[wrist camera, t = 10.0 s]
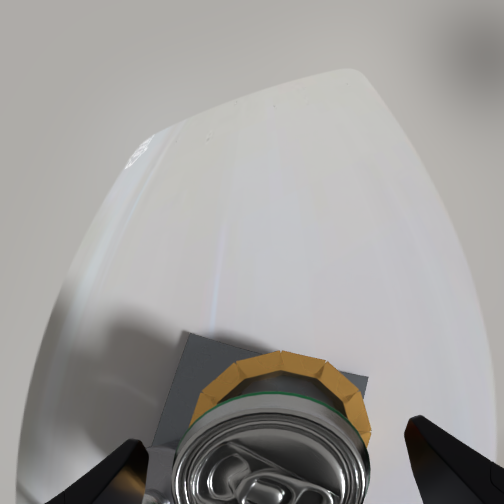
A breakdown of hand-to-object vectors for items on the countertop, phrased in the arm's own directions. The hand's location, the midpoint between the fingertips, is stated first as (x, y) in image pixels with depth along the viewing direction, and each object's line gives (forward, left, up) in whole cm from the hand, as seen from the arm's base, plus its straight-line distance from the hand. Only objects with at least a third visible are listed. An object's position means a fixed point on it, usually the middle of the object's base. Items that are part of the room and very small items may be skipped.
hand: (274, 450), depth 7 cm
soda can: (0, 0, -9) cm, 9 cm away
